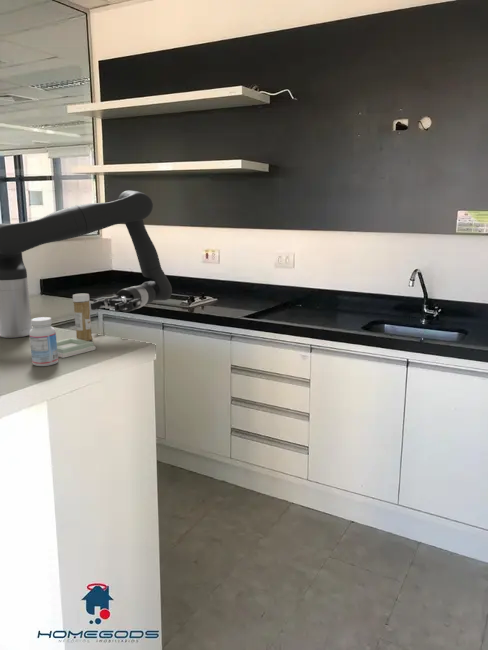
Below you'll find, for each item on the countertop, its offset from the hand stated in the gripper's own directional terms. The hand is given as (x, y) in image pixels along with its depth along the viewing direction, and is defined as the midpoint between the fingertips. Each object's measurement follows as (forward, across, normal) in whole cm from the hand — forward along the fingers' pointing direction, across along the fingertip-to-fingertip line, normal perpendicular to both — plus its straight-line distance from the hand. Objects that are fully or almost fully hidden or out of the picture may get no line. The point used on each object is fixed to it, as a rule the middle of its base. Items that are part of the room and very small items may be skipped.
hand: (103, 307), depth 166 cm
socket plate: (+22, +3, +8) cm, 24 cm away
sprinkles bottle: (+10, 0, +8) cm, 13 cm away
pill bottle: (+34, +6, +8) cm, 35 cm away
